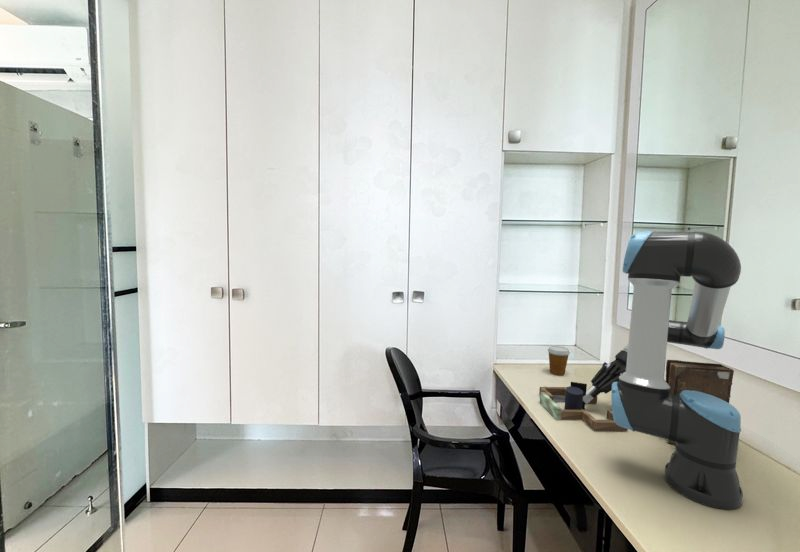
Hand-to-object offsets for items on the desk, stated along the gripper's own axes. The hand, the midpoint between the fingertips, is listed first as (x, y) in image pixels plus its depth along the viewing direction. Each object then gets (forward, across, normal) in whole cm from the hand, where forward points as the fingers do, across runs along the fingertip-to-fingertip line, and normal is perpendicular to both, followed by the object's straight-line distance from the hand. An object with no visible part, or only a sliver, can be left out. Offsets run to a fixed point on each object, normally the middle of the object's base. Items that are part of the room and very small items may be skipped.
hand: (583, 400), depth 134 cm
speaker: (+5, -1, 0) cm, 5 cm away
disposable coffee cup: (-3, +38, -8) cm, 39 cm away
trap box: (+4, -1, -1) cm, 4 cm away
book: (-14, -21, -19) cm, 32 cm away
